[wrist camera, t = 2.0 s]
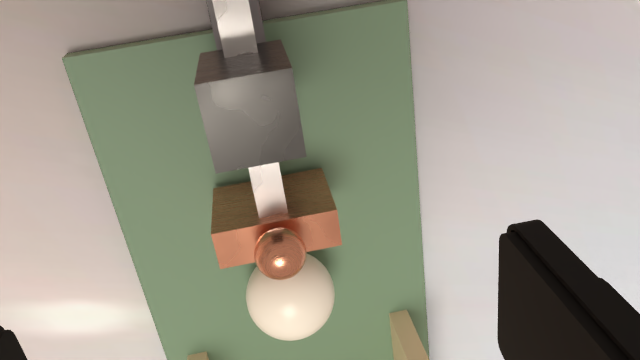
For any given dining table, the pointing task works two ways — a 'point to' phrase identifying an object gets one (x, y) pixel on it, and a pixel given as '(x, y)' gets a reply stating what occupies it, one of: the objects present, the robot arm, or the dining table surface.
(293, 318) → the ball
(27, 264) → the dining table surface
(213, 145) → the copper sphere contraption
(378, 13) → the pitch
